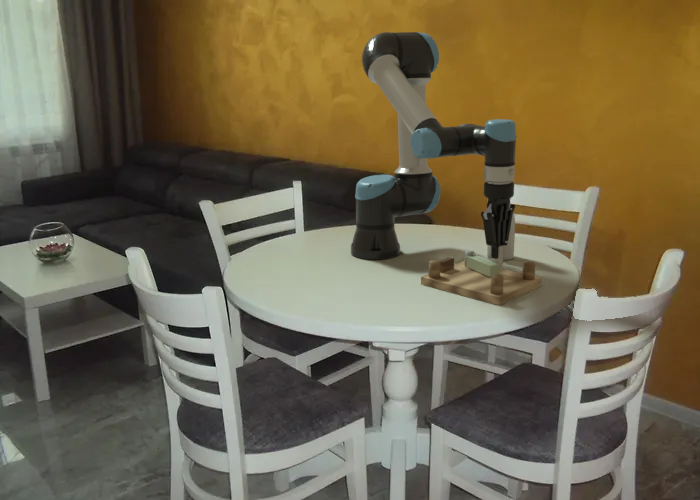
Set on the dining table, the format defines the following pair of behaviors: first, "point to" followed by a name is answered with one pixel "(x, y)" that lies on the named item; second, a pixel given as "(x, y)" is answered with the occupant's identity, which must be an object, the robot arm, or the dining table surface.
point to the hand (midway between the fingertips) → (496, 269)
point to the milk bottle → (509, 248)
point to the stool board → (481, 281)
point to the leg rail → (481, 264)
